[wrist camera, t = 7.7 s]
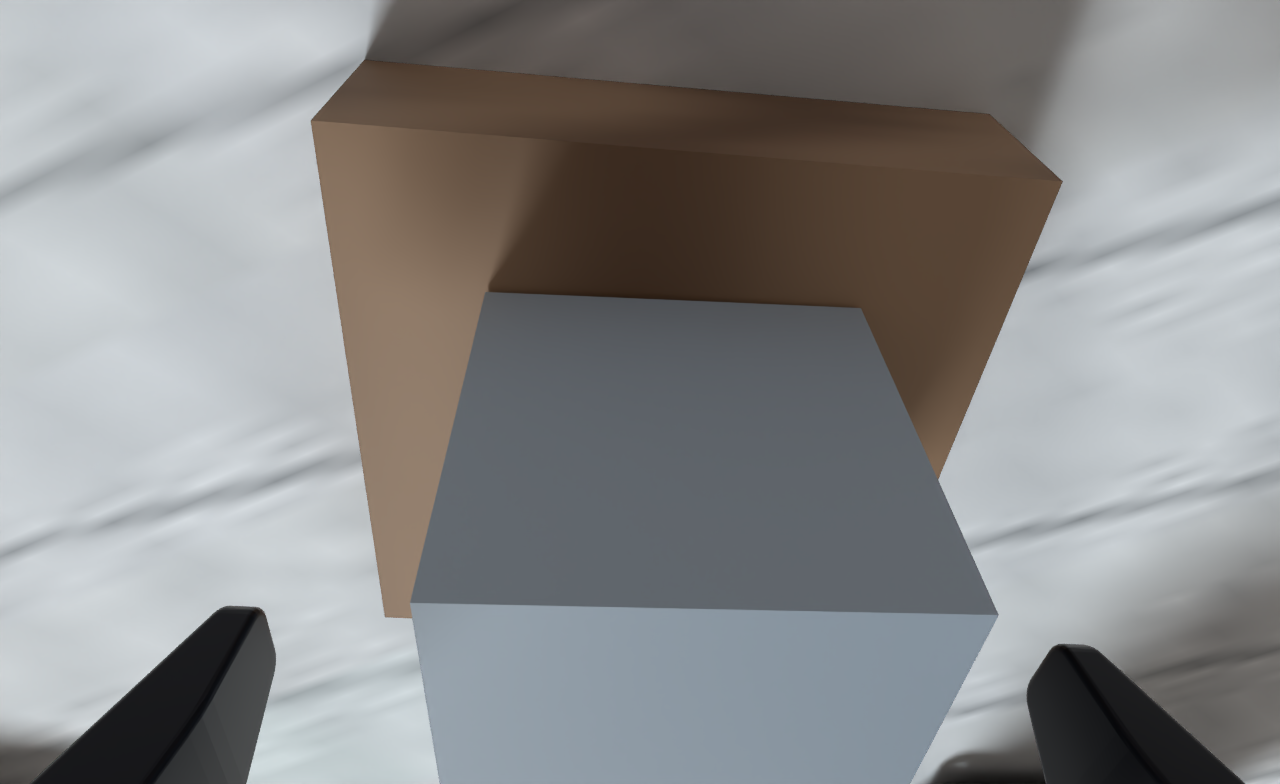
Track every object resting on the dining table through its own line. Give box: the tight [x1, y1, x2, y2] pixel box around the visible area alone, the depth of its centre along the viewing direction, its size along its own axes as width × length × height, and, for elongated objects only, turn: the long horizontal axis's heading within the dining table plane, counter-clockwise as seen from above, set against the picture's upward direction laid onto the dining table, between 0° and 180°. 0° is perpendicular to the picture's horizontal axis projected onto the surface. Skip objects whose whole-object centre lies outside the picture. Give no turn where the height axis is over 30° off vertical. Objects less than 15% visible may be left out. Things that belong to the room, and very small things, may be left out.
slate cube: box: [410, 292, 998, 784], centre depth 10 cm, size 5×5×5 cm
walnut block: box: [311, 60, 1063, 618], centre depth 14 cm, size 9×9×3 cm
